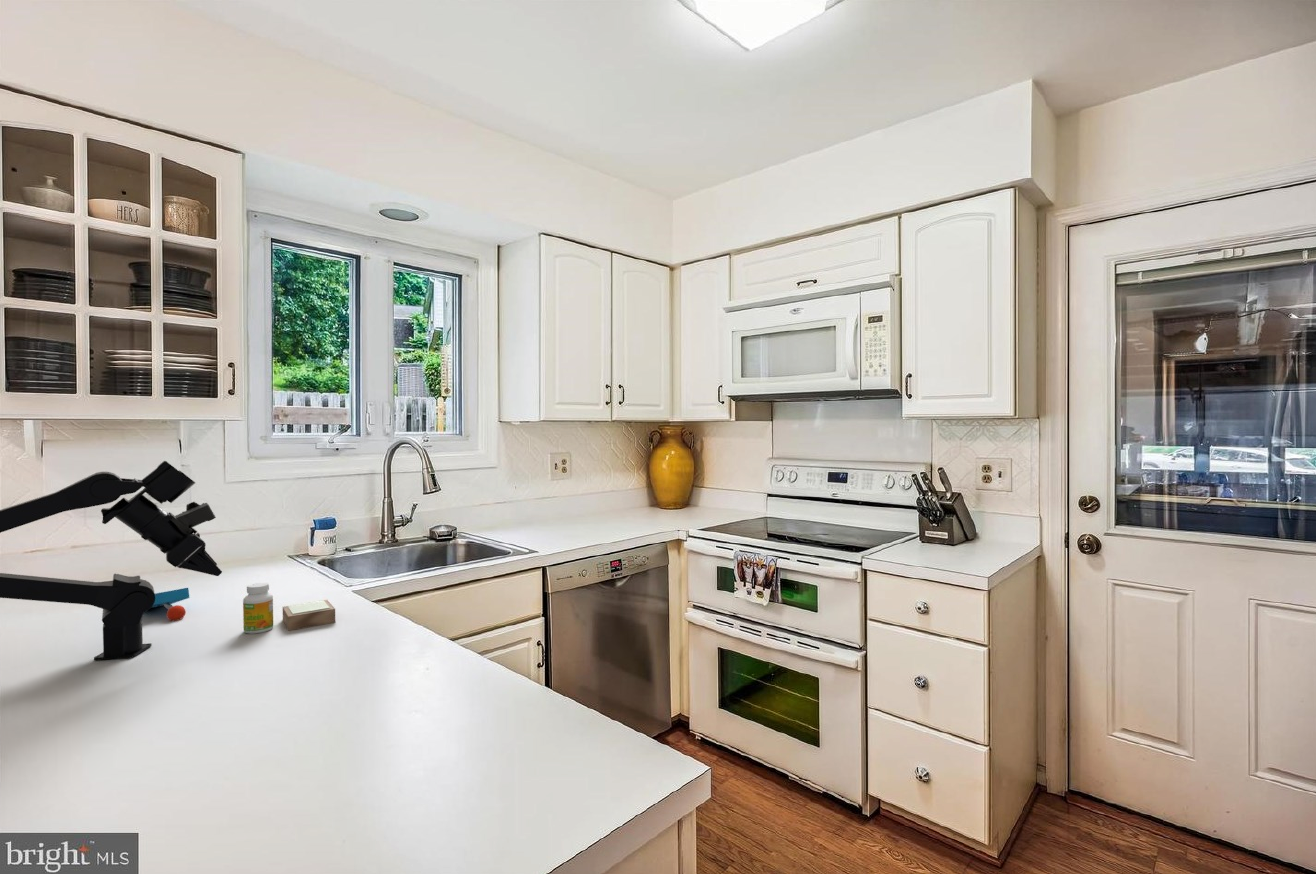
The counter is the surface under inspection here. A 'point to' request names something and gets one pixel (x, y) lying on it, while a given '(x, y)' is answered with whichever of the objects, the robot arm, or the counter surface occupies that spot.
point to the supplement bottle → (258, 609)
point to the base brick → (308, 614)
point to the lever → (170, 598)
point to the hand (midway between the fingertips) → (217, 570)
